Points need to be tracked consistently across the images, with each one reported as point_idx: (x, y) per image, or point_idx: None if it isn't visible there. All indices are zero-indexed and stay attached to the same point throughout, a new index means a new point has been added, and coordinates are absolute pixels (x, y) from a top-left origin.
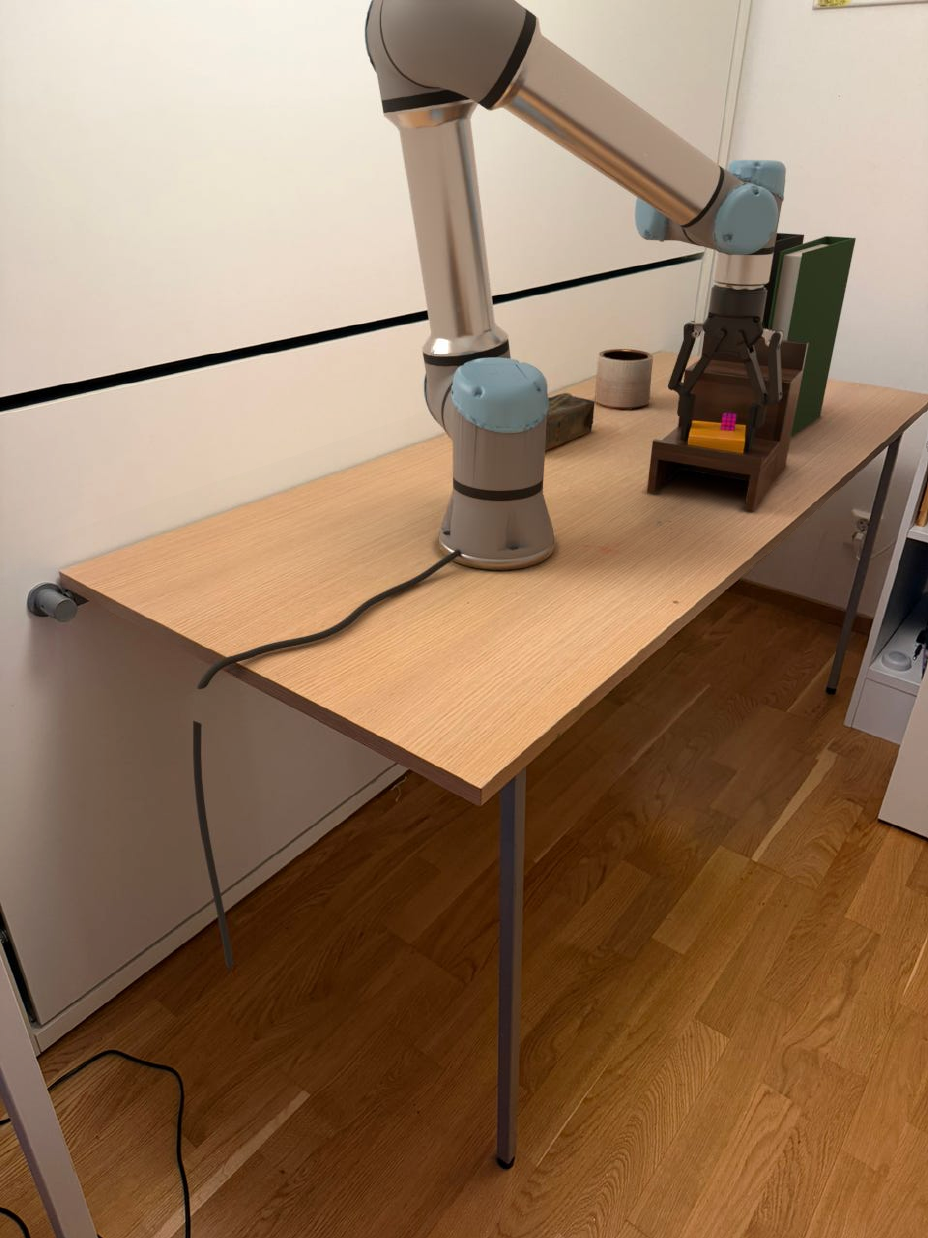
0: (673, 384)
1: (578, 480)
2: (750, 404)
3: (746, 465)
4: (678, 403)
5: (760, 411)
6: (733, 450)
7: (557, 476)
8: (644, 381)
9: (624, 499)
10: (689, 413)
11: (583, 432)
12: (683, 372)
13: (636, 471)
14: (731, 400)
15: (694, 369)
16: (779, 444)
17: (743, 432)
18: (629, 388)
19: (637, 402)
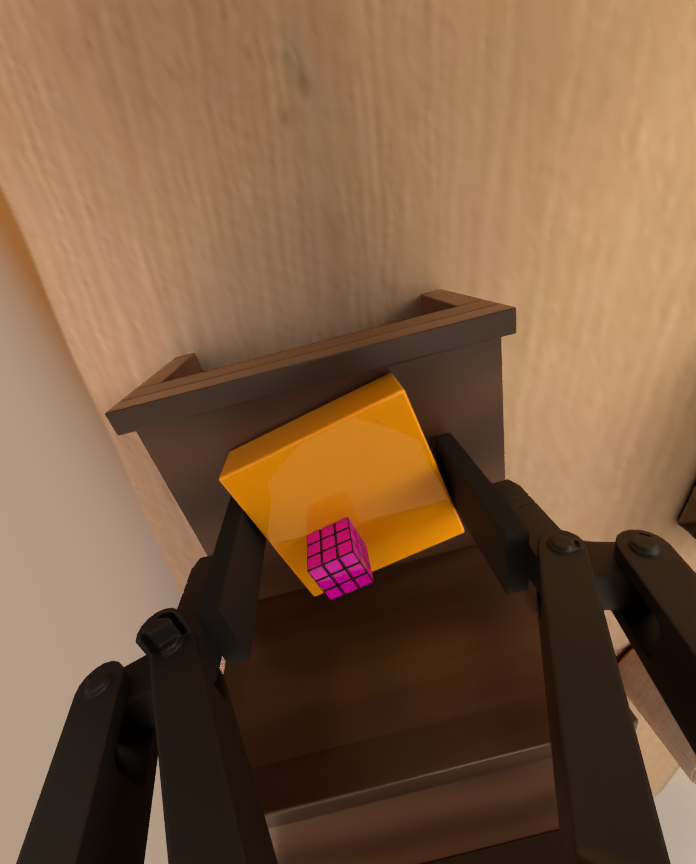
0: (643, 556)
1: (628, 239)
2: (330, 675)
3: (165, 387)
4: (540, 509)
5: (189, 611)
6: (253, 444)
7: (689, 224)
8: (658, 709)
9: (470, 195)
10: (471, 499)
11: (693, 501)
12: (652, 661)
13: (518, 401)
14: (395, 664)
15: (613, 690)
16: None
17: (275, 541)
18: None
19: (634, 661)
